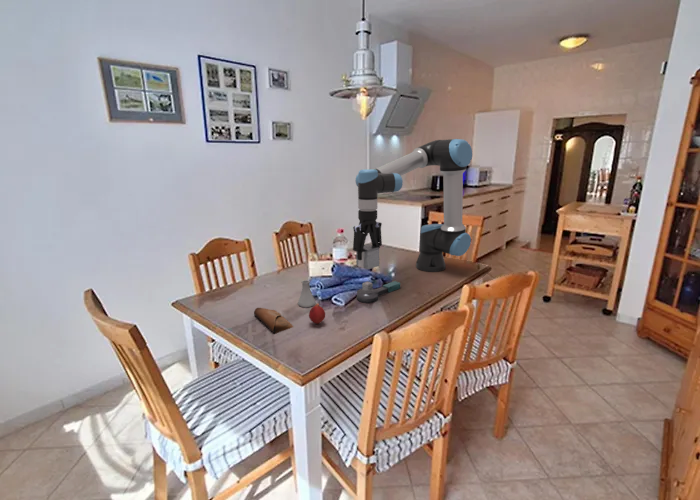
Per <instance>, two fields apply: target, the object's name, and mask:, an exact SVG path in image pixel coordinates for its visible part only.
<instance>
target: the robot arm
mask: <svg viewBox="0 0 700 500" xmlns="http://www.w3.org/2000/svg"><path fill="white" fill-rule="evenodd" d="M472 160H473V148H472V146H471V145H470V143H469V142H468V141H467V140H466V139H459V138H453V139H450V138H449V139H436V140H432V141H430V142H427V143H425V144H422V145H421V146H418V147H415V148H414V149H413V151H412V152H410V153H408V154H406V155H404V156H401V157H398V158H397V159H394V160H392V161H389V162H387V163H385V164H383V165H381V166H377V167H375V168H374V169H371V168H369V169H365V168H364V169H360V170H359V171H358V173H357V175H356V177H355V185H356V186H357V197H358V199H357V200H358V201H357V204H358V206H357V207H358V209H359V210H358V211H357V213H358V214H357V218H358V221H359V222H358V225H356V226H355V225H354V226H353V227H352V230H353V241H352V242H353V243H352V246H353V247H352V251H354V252H356V251H357V259H358V266H357V267H359V268H362V269H365V268H364V252H363V248H364V245H366V244H365V243H366V239H367V236H368V235H369V238H370V241H371V245H373V246H377V247H379V249H380V248H381V246H383V245H382V244H383V241H382V239H383V238H382V225H383V224H382V222H380V221H377V220H378V196H379V195H378V194H385V193H397V192H399V191H401V189H402V188H403V183H404V182H403V177H402V176H404V175H406V174H408V173H410V172H412V171H414V170H416V169H418V168H419V169H423V168H426V167H429V166H430V167H431V166H438V167H439V172H440V173H441V174H442V177H443V223H431V224H430V223H429V224H425V225H422V226H421V228H420V236H419V237H420V238H419V242H420V243H419V254H418V257H417V260H416V263H415V267H416V269H418V270H419V271H423V272H428V273H429V272H431V273H434V272H442V271H444V270H445V269H446V261H445V258H444V253H445V254H448V255H450V256H457V257H461V256H463V255H465V254H466V253H467V251H468V250H469V249H470V246H471V243H472V237H471V235H470V234H469V233H468V232H467V228H466V226H465V225H464V224H463V216H464V215H463V209H464V208H463V204H464V203H463V202H464V201H463V197H464V193H463V191H464V189H463V188H464V186H463V183H464V173H465V172H466V171H467V166H469V165H470V164H471V161H472Z"/></svg>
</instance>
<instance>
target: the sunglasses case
mask: <svg viewBox="0 0 700 500" xmlns="http://www.w3.org/2000/svg"><path fill="white" fill-rule="evenodd" d="M253 315H254V317H255V318H257V319H259V320H260V321H261V322H262V323H263V324H264V325H265V326H266V327H267V328H268V329H269V330H270V331H271V332H273V333H274V334H278V333H281V332H284V331H287V330H289V329H291V328H294V325H293V324H292V323H291V322H289V321H288V320H287V319H286V318H285V317H284V316H283V315H282V314H281V313H280V312H278V311H277V310H276V309H269V308H265V307H257V308H255V310H254V311H253Z"/></svg>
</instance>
